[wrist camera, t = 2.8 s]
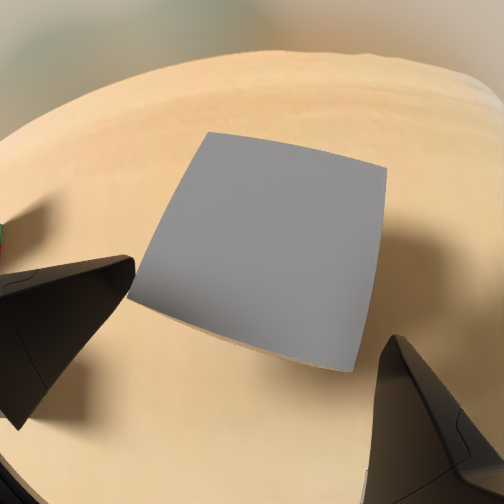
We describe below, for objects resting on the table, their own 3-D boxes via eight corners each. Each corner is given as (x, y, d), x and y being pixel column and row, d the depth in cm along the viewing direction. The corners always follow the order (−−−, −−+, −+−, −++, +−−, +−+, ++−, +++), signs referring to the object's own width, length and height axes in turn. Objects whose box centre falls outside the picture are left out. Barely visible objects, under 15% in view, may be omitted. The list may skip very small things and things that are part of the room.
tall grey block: (309, 366, 16) (352, 372, 6) (215, 337, 17) (126, 298, 7) (334, 274, 18) (386, 168, 8) (245, 250, 19) (208, 132, 9)
